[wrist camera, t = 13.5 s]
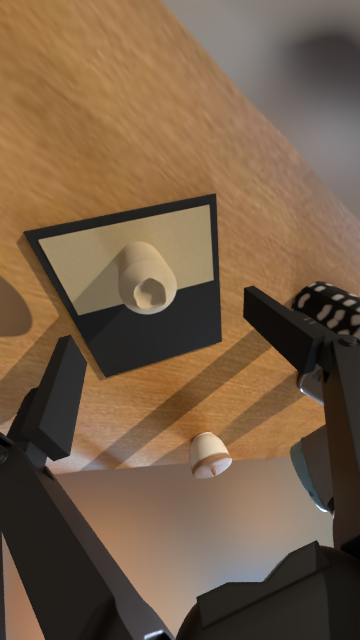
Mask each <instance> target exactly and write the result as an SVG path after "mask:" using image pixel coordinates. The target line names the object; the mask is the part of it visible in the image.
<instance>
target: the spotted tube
mask: <svg viewBox="0 0 360 640" xmlns="http://www.w3.org/2000/svg"><path fill="white" fill-rule="evenodd" d="M294 310H296V311H299V312H301V313H304V314H306V315H307V316H309V317H310V318H312V319H314V320H315V321H316V322H318V323H320V324H321V325H323V326H324V327H326V328H328V329H329V330H331V331H332V332H334V333H335V334H337V335H338V334H347V335H352V336H354V337H357V338H358V339H360V297H358V296H356V295H353V294H351V293H349V292H346V291H344V290H342V289H339V288H337V287H335V286H332V285H330V284H328V283H325V282H322V281H318V282H314V283H312V284H310V285H308V286H307V287H305V288H304V289H303V290H302V291H301V292H300V293H299V294H298V295H297V297H296V298H295V300H294V302H293V304H292V310H291V311H294Z"/></svg>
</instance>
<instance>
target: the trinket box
mask: <svg viewBox="0 0 360 640" xmlns="http://www.w3.org/2000/svg"><path fill="white" fill-rule="evenodd" d="M189 459H190V464H191V468H192V474H193V477H195V478H196V479H205V478H209V477H216V476H217V474H219V473H221V472H222V471H224V470H225V469H227V468H228V467H229V466H230V464H231V462H232V459H231V457H230V455H229V453H228V451H227V449H226V447H225V445H224V444H223V442H222V441H221V440H220V439H219V438H218V437H217V436H215V435H213V434H212V433H210V432H204V433H201V434H199V435H197V436H196V437H194V439H193V440H192V444H191V446H190V450H189Z"/></svg>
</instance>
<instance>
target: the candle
mask: <svg viewBox="0 0 360 640" xmlns="http://www.w3.org/2000/svg"><path fill="white" fill-rule="evenodd" d="M118 288H119V295H120V298H121V300H122V301H123V303H124V304H125V305H126V306H127V307H128V308H129V309H131V310H132V311H134V312H137V313H140V314H154V313H157V312H160V311H162V310H163V309H165V308H166V307H168V306H169V305H170V303H171V302H172V301H173V299H174V297H175V294H176V290H177V282H176V278H175V276H174V274H173V272H172V271H171V269H170V268H169V267H168V265H167V264H166V262H165V261H164V259H163V258H162V257H161V255H160V254H159V252H158V251H157V250H156V249H155V248H154V247H153V246H152V245H150V244H148V243H145V242H133V243H130V244H128V245H127V246H125V247H124V248H123V250H122V251H121V252H120V255H119V258H118Z"/></svg>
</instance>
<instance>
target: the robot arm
mask: <svg viewBox="0 0 360 640" xmlns="http://www.w3.org/2000/svg"><path fill="white" fill-rule="evenodd" d="M243 317H244V318H245V319H246V320H247V321H248V322H249V323H250V324H251V325H252V326H253V327H254V328H255V329H256V330H257V331H258V332H259V333H260V334H261V335H262V336H263V337H264V338H265V339H266V340H267V341H268V342H269V343H270V344H271V345H272V346H273V347H274V348H275V349H276V350H277V351H278V352H279V353H280V354H281V355H282V356H283V357H284V358H286V359H287V360H288V361H289V362H290V363H291V364H292V365H293V366H294V367H295V368H296V369H297V370H298V371H299V372H300V375H299V377H298V379H297V386H298V388H299V389H300V390H301V391H302V392H303V393H305V394H306V395H308V396H310V397H311V398H313V399H314V400H316V401H317V402H319V403H321V404H322V405H324V411H325V421H326V424H325V425H324V426H322V427H320V428H319V429H317V430H315V431H314V432H312V433H311V434H309V435H307V436H306V437H303V438H301V440H300V441H299V442H297V443H296V444H295V445H293V446H292V447H291V450H290V456H291V460H292V463H293V466H294V468H295V470H296V473H297V475H298V477H299V479H300V481H301V482H302V484H303V486H304V488H305V489H306V490H307V491H308V493H309V495H310V497H311V499H312V500H313V501H314V503H315V504H316V505H317V507H318V508H320V509H321V510H322V511H327V512H328V511H330V513H331V515H332V516H333V518H334V519H333V542H334V548H332V547H327V546H320V545H319V543H318V542H317V540H316V541H314V542H312V543H310V544H308V545H306V546H303V547H302V548H299V549H297V550H295V551H293V552H291V553H289V554H288V555H287V556H286V557H285V558H284V559H283V560H282V561H280V562H279V563H278V564H277V566H276V567H275V568H274V569H273V570H272V571H271V573H270V574H269V575H268V576H267V577H266V578H265V580H264V581H263V582H228V583H226V584H223V585H221V586H219V587H217V588H215V589H213V590H211V591H209V592H207V593H204V594H202V595H200V596H198V597H197V603H196V604H195V605H194V606H193V607H192V609H191V610H190V612H189V613H188V614H187V616H186V617H185V619H184V622H183V623H182V625H181V627H180V629H179V632H178V634H177V636H176V639H175V638H174V636H173V635H172V634H171V632H170V631H169V630H168V628H167V627H166V625H165V624H164V623H163V621H162V620H161V619H160V617H159V616H158V615H157V613H156V612H155V611H154V610H153V609H152V608H151V607H150V606H149V605H148V604H147V603H146V602H145V601H144V600H143V599H142V598H141V596H140V595H139V594H138V592H137V591H136V590H135V588H134V587H133V586H132V584H131V583H130V581H129V580H128V578H127V577H126V576H125V574H124V573H123V572H122V570H121V569H120V567H119V566H118V564H117V563H116V562H115V560H114V559H113V558H112V556H111V555H110V553H109V552H108V550H107V549H106V548H105V546H104V545H103V543H102V542H101V541H100V539H99V538H98V537H97V535H96V534H95V532H94V531H93V530H92V528H91V527H90V525H89V524H88V523H87V521H86V520H85V518H84V517H83V516H82V514H81V513H80V512H79V510H78V509H77V507H76V506H75V504H74V503H73V502H72V500H71V499H70V498H69V496H68V495H67V493H66V492H65V490H64V489H63V488H62V486H61V485H60V484H59V482H58V481H57V479H56V478H55V477H54V475H53V474H52V472H51V471H50V470H49V468H48V467H47V466H45V463H46V459H47V456H48V457H49V458H50V459H51V460H53V461H56V460H59V459H62V458H65V457H67V456H70V452H71V446H72V441H73V436H74V430H75V425H76V420H77V414H78V409H79V404H80V398H81V393H82V388H83V382H84V377H85V372H86V366H87V361H86V360H85V358H84V356H83V355H82V353H81V351H80V350H79V348H78V346H77V345H76V343H75V341H74V340H73V338H72V336H71V335H68V336H64V337H61V338H59V339H58V342H57V344H56V347H55V349H54V351H53V354H52V356H51V359H50V361H49V363H48V366H47V368H46V371H45V373H44V375H43V378H42V380H41V383H40V385H39V387H36V388H33V389H31V390H30V392H29V393H28V394H27V395H26V396H25V397H24V399H23V402H22V404H21V406H20V408H19V410H18V412H17V416H16V417H15V419H14V421H13V423H12V425H11V427H10V429H9V432H8V434H7V436H5V435H4V434H2V433H1V432H0V640H6V632H5V606H4V580H3V556H2V533H3V536H4V538H5V540H6V543H7V546H8V548H9V550H10V553H11V556H12V558H13V560H14V563H15V565H16V568H17V570H18V573H19V575H20V578H21V580H22V583H23V585H24V588H25V590H26V593H27V595H28V598H29V600H30V603H31V605H32V607H33V610H34V613H35V615H36V618H37V620H38V623H39V625H40V628H41V630H42V633H43V635H44V638H45V640H360V339H358V338H357V337H354V336H352V335H347V334H338V335H337V334H335V333H334V332H332V331H331V330H329V329H328V328H326V327H324V326H323V325H321V324H320V323H318V322H316V321H315V320H314V319H312V318H310V317H309V316H307V315H306V314H304V313H301V312H299V311H296V310H294V311H290V310H289V309H287V308H286V307H284V306H283V305H281V304H280V303H278V302H277V301H275V300H274V299H272V298H271V297H269V296H268V295H267V294H265V293H264V292H262V291H261V290H259V289H258V288H256V287H255V286H250V287H246V288H244V310H243Z"/></svg>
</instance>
